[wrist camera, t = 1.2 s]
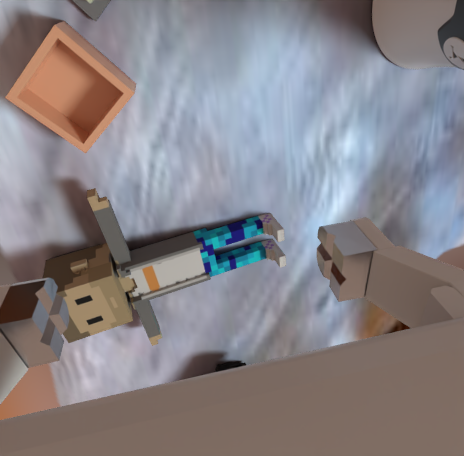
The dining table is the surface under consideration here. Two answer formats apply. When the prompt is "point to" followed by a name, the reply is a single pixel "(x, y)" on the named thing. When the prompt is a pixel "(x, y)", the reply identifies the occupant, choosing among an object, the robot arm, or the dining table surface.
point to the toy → (148, 269)
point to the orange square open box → (71, 87)
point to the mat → (92, 7)
